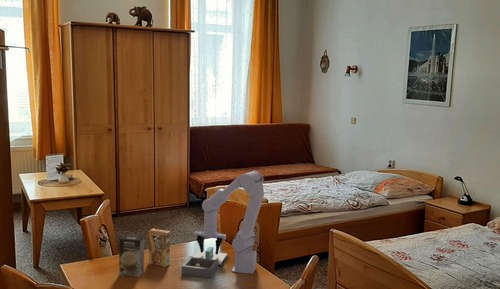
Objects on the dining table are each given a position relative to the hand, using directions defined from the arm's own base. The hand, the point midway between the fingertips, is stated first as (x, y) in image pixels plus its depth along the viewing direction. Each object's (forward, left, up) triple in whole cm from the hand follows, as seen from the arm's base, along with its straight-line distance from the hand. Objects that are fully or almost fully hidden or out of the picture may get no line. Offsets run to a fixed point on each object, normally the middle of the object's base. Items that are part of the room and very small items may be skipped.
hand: (209, 252), depth 216 cm
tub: (0, +14, -3) cm, 14 cm away
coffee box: (+27, +24, -4) cm, 36 cm away
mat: (0, 0, -3) cm, 3 cm away
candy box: (+20, +11, -4) cm, 23 cm away
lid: (0, 0, -2) cm, 2 cm away
